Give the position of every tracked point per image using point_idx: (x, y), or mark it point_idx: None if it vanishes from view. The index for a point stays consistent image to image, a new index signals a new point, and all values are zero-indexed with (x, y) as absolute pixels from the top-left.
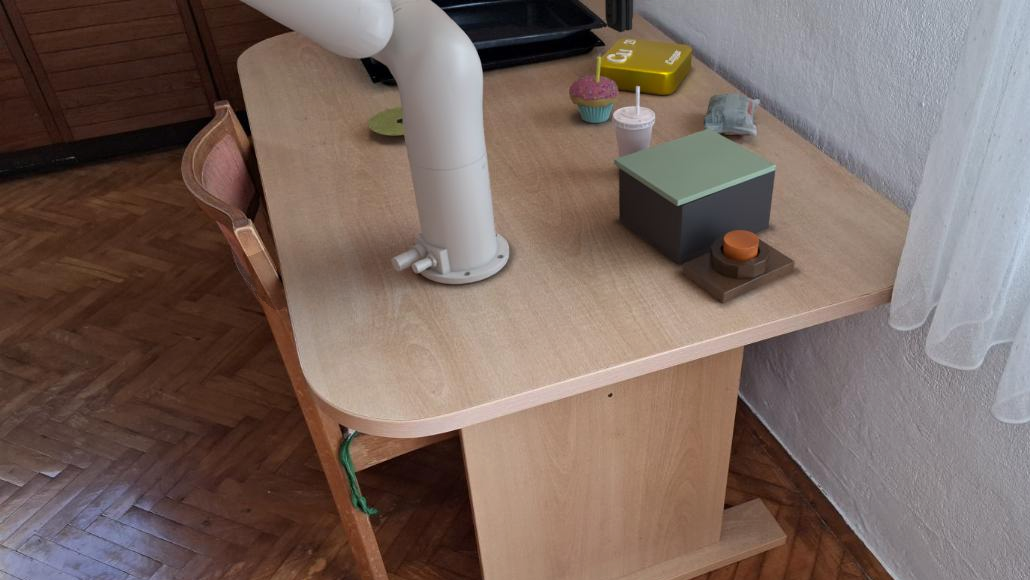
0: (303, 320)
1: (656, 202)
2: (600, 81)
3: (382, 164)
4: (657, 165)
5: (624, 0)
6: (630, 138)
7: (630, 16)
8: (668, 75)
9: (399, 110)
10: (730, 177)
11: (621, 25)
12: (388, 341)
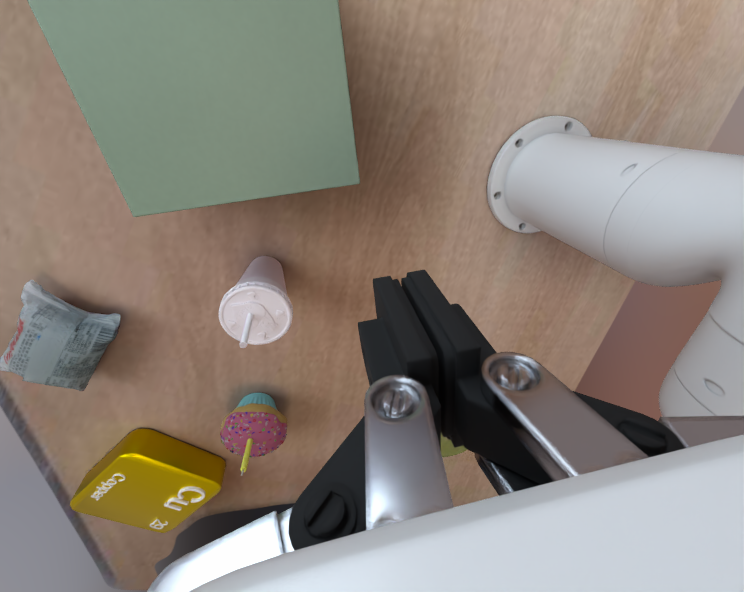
0: (708, 144)
1: None
2: (245, 439)
3: None
4: (298, 119)
5: (458, 343)
6: (274, 282)
7: (393, 302)
8: (131, 451)
9: (445, 452)
10: None
11: (431, 280)
12: (690, 49)
